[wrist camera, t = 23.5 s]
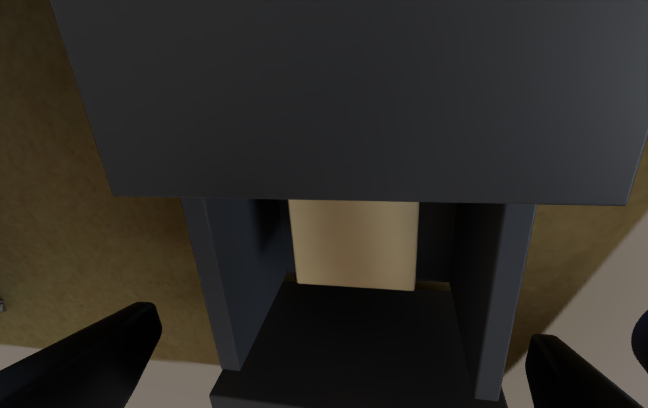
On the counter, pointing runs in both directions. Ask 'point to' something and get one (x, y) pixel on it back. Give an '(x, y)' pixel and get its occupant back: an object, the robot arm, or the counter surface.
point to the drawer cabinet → (365, 98)
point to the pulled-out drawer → (360, 311)
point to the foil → (0, 307)
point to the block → (355, 243)
